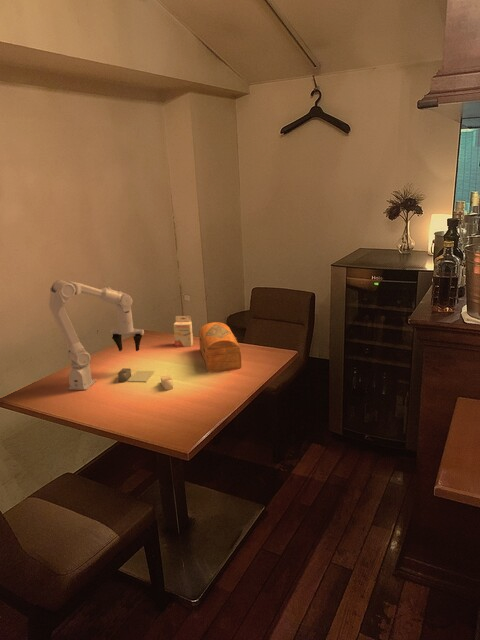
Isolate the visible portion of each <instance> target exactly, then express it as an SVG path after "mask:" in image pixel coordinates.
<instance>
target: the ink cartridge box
mask: <svg viewBox="0 0 480 640" xmlns="http://www.w3.org/2000/svg"><path fill="white" fill-rule="evenodd" d="M174 320H175V322H174V323H173V334H174V335H173V336H174V346H175V347H192V346H193V344H194V336H193V335H194V334H193V325H192V324H193V322H192V317H191V316H190V315H176V316H175V319H174Z"/></svg>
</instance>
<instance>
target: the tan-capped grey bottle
mask: <svg viewBox="0 0 480 640" xmlns="http://www.w3.org/2000/svg"><path fill="white" fill-rule="evenodd" d="M132 372H133V371H132V369H131V368H122V369H120V370H119V371H118V373H117V378H118V379H117V380H118V382H119V383H126V382H128V380H129V379H130V378H131V377H132Z"/></svg>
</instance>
